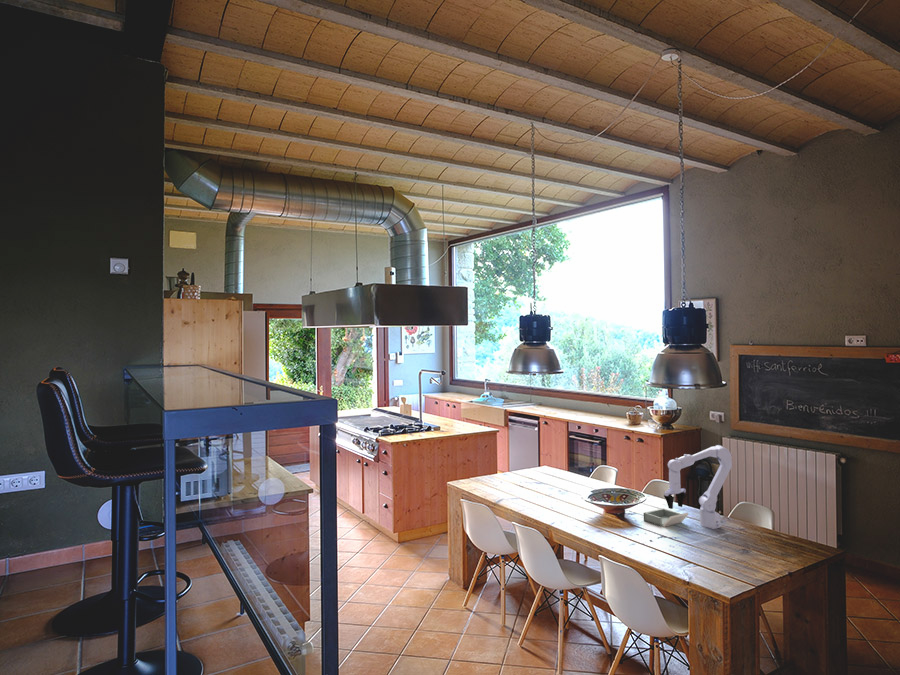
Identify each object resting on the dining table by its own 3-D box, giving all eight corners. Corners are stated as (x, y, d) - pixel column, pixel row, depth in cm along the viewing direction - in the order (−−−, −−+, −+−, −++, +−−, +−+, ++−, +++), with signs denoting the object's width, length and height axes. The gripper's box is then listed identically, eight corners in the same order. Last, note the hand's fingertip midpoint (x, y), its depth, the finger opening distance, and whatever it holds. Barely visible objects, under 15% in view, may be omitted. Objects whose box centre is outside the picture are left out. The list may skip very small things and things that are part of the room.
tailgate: (688, 514, 292) (687, 512, 292) (671, 518, 285) (670, 516, 285) (680, 523, 296) (679, 521, 297) (663, 527, 289) (661, 526, 290)
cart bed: (680, 522, 297) (680, 513, 298) (660, 527, 290) (660, 518, 290) (663, 517, 307) (663, 508, 307) (643, 521, 299) (643, 512, 300)
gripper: (677, 479, 301) (678, 503, 300) (659, 482, 294) (660, 507, 294) (688, 481, 295) (689, 506, 294) (670, 485, 288) (670, 510, 287)
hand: (675, 507), depth 293 cm, fingers open, 7 cm apart
